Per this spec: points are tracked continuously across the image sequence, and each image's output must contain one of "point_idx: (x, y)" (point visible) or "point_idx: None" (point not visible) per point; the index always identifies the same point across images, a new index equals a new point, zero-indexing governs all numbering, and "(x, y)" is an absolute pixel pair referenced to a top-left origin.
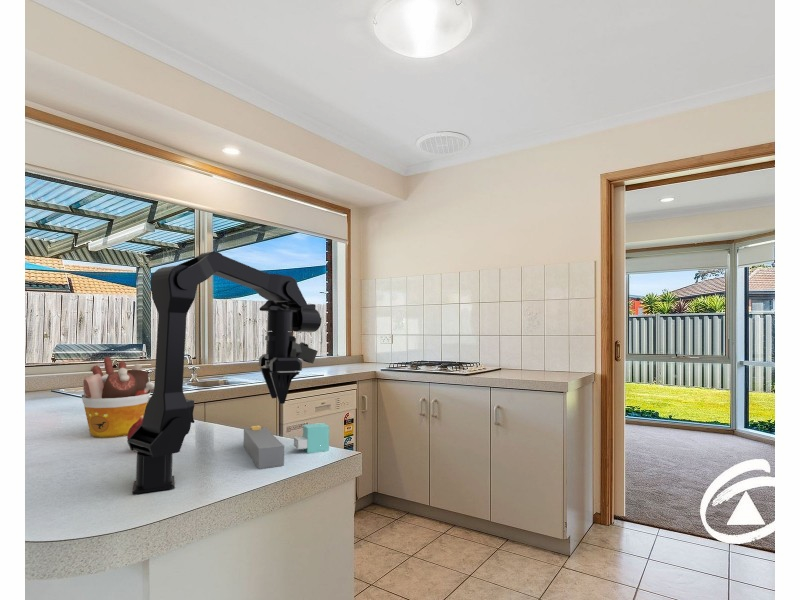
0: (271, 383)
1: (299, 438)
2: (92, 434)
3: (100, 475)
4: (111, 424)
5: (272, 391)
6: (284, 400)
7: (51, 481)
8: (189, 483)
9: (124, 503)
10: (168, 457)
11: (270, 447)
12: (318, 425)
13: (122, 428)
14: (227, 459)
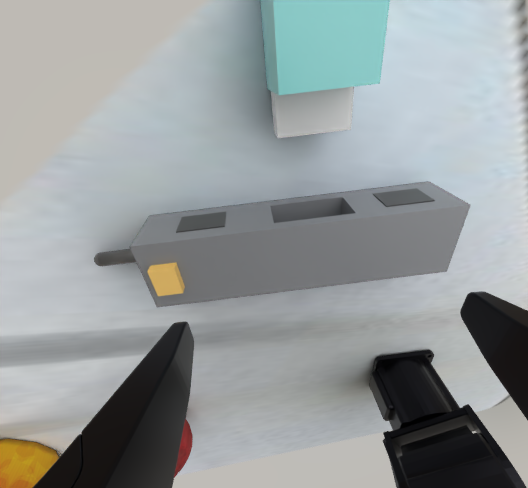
0: (159, 474)
1: (317, 118)
2: None
3: (301, 417)
4: None
5: (182, 386)
6: (502, 306)
7: (302, 441)
8: (416, 336)
9: (443, 380)
10: (446, 403)
11: (456, 243)
12: None
13: (42, 464)
14: (293, 297)
